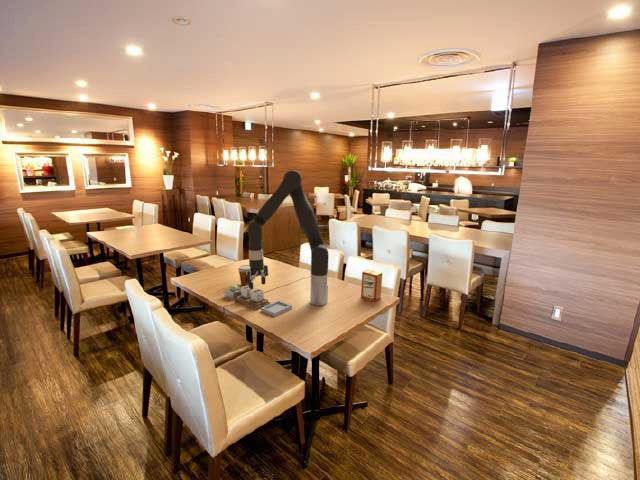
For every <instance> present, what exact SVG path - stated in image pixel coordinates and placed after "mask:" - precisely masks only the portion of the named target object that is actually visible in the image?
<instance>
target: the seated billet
mask: <svg viewBox="0 0 640 480" xmlns="http://www.w3.org/2000/svg"><path fill="white" fill-rule="evenodd" d="M240 288H241V298H243V299H246V300H248V299H250V298H251V292H250V291H252V290H255V289H254V288H255V287H254V286H253V289H250V288H249V285H247V286H241V287H240Z"/></svg>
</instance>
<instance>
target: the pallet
mask: <svg viewBox="0 0 640 480" xmlns="http://www.w3.org/2000/svg"><path fill="white" fill-rule="evenodd" d="M234 302H236V303H239V304H241V305H243V306H246V307H248V308H250V309H253V310H255V311H258V310H261V308H262V307H264V306H266V305H269V304H271V301H269V299H266V298H264V301H262V302H260V303H257V304H256V303H253V302H251V298H250V299H248V300H246V299H243V298H241V295H240V296H238V297H237V299H235V300H234Z"/></svg>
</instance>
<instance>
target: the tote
mask: <svg viewBox="0 0 640 480" xmlns="http://www.w3.org/2000/svg"><path fill="white" fill-rule="evenodd" d="M292 309H293V305H292V304H290V303H287V302H284V301H281V300H276V301H274V302H270V304H269V305H266V306H264V307H262V308H260V312H261V313H264V314H267V315H269V316H271V317H274V318H275V317H278V316H279V315H281V314H283V313H286V312H288V311H291V310H292Z"/></svg>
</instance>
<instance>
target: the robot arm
mask: <svg viewBox="0 0 640 480" xmlns="http://www.w3.org/2000/svg"><path fill="white" fill-rule="evenodd" d="M302 179H303V178H302V174H301V173H300V172H299V171H297V170H294V169H293V170H292V169H291V170H288V171H287V172H285V173H284V174H283V177H282V181H281V183H280V184H279V186H278V187H277V189H275V191H274V193H273V194H272V195H271V196H270V197H269V198H267V200H266V202H264V204H263V205H262V206H261V208H260V209H259V210H258V212H257V213H256V214H255V215H254V216H253V217H252V218H251V220H250V221H249V222H248V223H247V234H248V263H249V264H248V265H249V266H250V270H249V271H245V281H246V282H249V288H250V289H253V287H254V280H255V279H256V278H257V277H259V276H260V277H261V278H260V280H261V285H266V278H267V277H268V276H269V268H268V266H269V265H266V264H264V250H263V227H264V226H265V224H266V223H267V222H268V221H269V220H270V219H272V217H273V216H274V215H275V213H276V212H277V210H278V209H279V208H280V206H281V205H282V204H283V202H284V201H285V200H286V199H287V197H288V196H289V195H290V198H291V201H292V204H293V209H294V211H295V215H296V218H297V221H298V223H299V226H300V227H301V230H302V232H303V233H304V234H305V236H306V238H307V241H308V244H309V247H310V257H311V258H310V297H309V298H310V300H309V301H310V304H311V305H313V306H316V307H317V306H318V307H319V306H325V305H327V304H328V303H327V302H328V299H329V297H328V296H329V293H328V292H329V285H328V276H329V275H328V270H329V258H330V257H329V250H328V248H327V246H326V244H325V242H324V240H323V238H322V235H321V233H320V229H319V224H318V222H317V221H318V220H317V217H316V215H315V212H314V209H313V207H312V205H311V204H310V201H309V200H308V198H307V195H306V194H305V191H304V189H303V184H302V181H303V180H302ZM250 273H251V274H250ZM251 278H252V279H251Z"/></svg>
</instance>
